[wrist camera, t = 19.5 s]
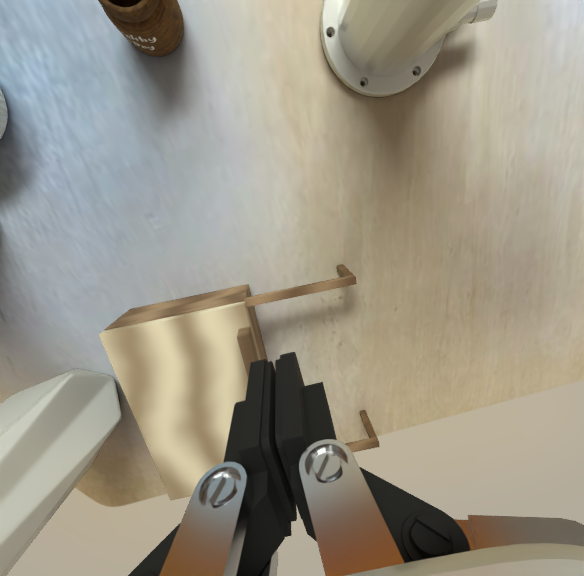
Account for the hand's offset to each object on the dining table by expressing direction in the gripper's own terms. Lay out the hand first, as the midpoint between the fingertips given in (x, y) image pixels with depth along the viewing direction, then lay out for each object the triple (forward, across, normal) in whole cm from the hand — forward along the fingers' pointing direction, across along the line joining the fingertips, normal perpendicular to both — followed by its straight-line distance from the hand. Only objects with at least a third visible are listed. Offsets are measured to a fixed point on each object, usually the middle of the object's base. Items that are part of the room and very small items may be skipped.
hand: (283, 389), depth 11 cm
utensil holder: (+28, +6, -24) cm, 37 cm away
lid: (+20, +13, +14) cm, 27 cm away
